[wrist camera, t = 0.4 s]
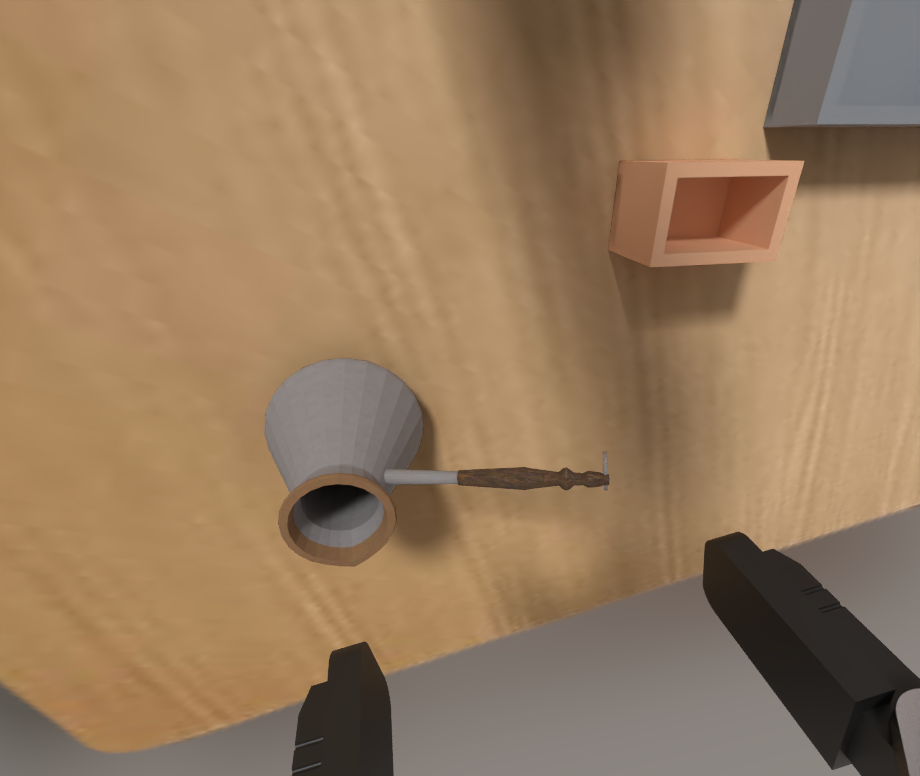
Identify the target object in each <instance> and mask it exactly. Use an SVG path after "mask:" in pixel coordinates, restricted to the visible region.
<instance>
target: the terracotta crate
mask: <svg viewBox="0 0 920 776" xmlns="http://www.w3.org/2000/svg"><path fill="white" fill-rule="evenodd" d="M803 165H804V161H790V160H747V159H720V160H648V161H619V169H618V177H617V185H616V192H615V200H614V208H613V216H612V224H611V231H610V239H609V247H608V250H609V251H612V252H614V253H617V254H619V255H621V256H624V257H626V258H629V259H631V260H633V261H636V262H638V263H641V264H643V265H645V266H648V267H668V266H689V265H709V264H729V263H749V262H770V261H776V259H777V256H778V252H779V249H780V245H781V242H782V238H783V235H784V231H785V228H786V224H787V221H788V217H789V214H790V210H791V207H792V203H793V200H794V196H795V193H796V189H797V186H798V182H799V179H800V175H801V172H802V168H803Z"/></svg>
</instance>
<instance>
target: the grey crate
mask: <svg viewBox="0 0 920 776" xmlns="http://www.w3.org/2000/svg"><path fill="white" fill-rule="evenodd" d="M764 127H920V0H795V1H794V5H793V9H792V13H791V17H790V21H789V25H788V29H787V33H786V38H785V42H784V46H783V50H782V54H781V58H780V62H779V66H778V70H777V74H776V78H775V82H774V87H773V91H772V95H771V99H770V103H769V107H768V111H767V115H766V119H765V123H764Z"/></svg>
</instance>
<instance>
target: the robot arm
mask: <svg viewBox="0 0 920 776" xmlns="http://www.w3.org/2000/svg"><path fill="white" fill-rule="evenodd" d="M703 588H704V591H705V594H706V597H707V599H708V602H709V603H710V605H711V607H712V609H713V610H714V612H715V613H716V614H717V616H718V617H719V618H720V620H721V621H722V623H723V624H724V625H725V627H726V628H727V629H728V631H729V632H730V633H731V635H732V636H733V637H734V639H735V640H736V641H737V643H738V644H739V645H740V647H741V648H742V649H743V651H744V652H745V653H746V655H747V656H748V657H749V659H750V660H751V661H752V663H753V664H754V665H755V667H756V668H757V670H758V671H759V672H760V674H761V675H762V676H763V677H764V679H765V680H766V682H767V683H768V684H769V686H770V687H771V688H772V690H773V691H774V692H775V694H776V695H777V696H778V698H779V699H780V700H781V702H782V703H783V704H784V706H785V707H786V708H787V710H788V711H789V712H790V714H791V715H792V716H793V718H794V719H795V720H796V722H797V723H798V725H799V726H800V727H801V728H802V730H803V731H804V733H805V734H806V735H807V737H808V738H809V739H810V741H811V742H812V743H813V745H814V746H815V747H816V749H817V750H818V751H819V753H820V754H821V755H822V757H823V758H824V760H825V761H826V762H827V763H828V765H829V766H830V768H831V769H832V770H834V769H837V768H840V767H843V766H846V765H849V764H853V766H854V767H855V768H856V769H857V771H858V772H859V773H860V775H861V776H920V678H918V677H917V676H916V675H915V674H914V673H913V672H912V671H911V670H910V669H909V668H907V666H905V665H904V664H903V663H902V662H901V661H900V660H899V659H898V658H897V657H896V656H895V655H894V654H893V653H892V652H891V651H890V650H889V649H888V648H887V647H886V646H885V645H884V644H883V643H882V642H881V641H880V640H879V639H877V638H876V637H875V636H874V635H873V634H872V633H871V632H870V631H869V630H868V629H867V628H866V627H865V626H864V625H863V624H862V623H861V622H860V621H859V620H858V619H857V618H855V616H854V615H853V614H852V613H851V612H850V611H848V610H847V609H846V608H845V607H842V606H841V605H840V602H839V601H838V600H837V599H836V598H835V597H834V596H833V595H832V594H831V593H830V592H829V591H828V590H827V589H824V588H823V587H822V585H821V583H819V582H818V581H817V580H816V579H815V578H814V577H813V576H812V575H811V574H810V573H809V572H808V571H807V570H806V569H805V568H804V567H803V566H802V565H801V564H799V563H798V562H796V561H794V560H792V559H791V558H789V557H787V556H785V555H783V554H782V553H780V552H778V551H776V550H775V549H771V550H767V551H764V552H762V551H761V550H760V549H759V548H758V547H757V546H756V545H755V544H754V542H753V541H752V540H751V539H750V538H749V537H747V536H746V535H745V534H743V533H741V532H735V533H732V534H729V535H725V536H722V537H719V538H715V539H712V540H708V541H707V542H706V543H705V550H704V570H703ZM295 746H296V750H295V751H294V756H293V764H292V772H293V774H292V776H393V751H392V724H391V704H390V696H389V691H388V686H387V683H386V680H385V677H384V675H383V673H382V671H381V669H380V667H379V665H378V663H377V661H376V659H375V657H374V655H373V653H372V651H371V649H370V647H369V645H368V644H367V642H361V643H358V644H354V645H351V646H348V647H344V648H341V649H338V650H334V651H332V653H331V655H330V659H329V668H328V681H327V682H324V683H320V684H317V685H314V686H311V688H310V690H309V693H308V695H307V697H306V699H305V702H304V704H303V706H302V708H301V711H300V713H299V716H298V724H297V732H296V740H295Z"/></svg>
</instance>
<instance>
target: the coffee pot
mask: <svg viewBox="0 0 920 776" xmlns="http://www.w3.org/2000/svg"><path fill="white" fill-rule="evenodd" d="M422 434H423V418H422V411H421V409H420V406H419V404H418V402H417V399H416V397H415V395H414V394H413V392H412V391H411V390H410V389H409V387H408V386H407V385H406V384H405V382H404V381H403V380H402V379H400V378H399V377H397V376H396V375H395V374H393V373H392V372H391V371H389V370H388V369H386V368H384V367H381V366H379V365H376V364H374V363H371V362H369V361H364V360H357V359H349V358H341V359H330V360H323V361H320V362H317V363H314V364H312V365H309V366H306V367H303V368H302V369H300V370H299V371H297V372H296V373H295V374H293V375H292V376H290V377H289V378H287V379H286V380H285V381H284V382H283V384H282V385H281V386H280V387H279V388H278V390H277V391H276V392H275V393H274V394H273V396H272V398H271V401H270V403H269V406H268V408H267V411H266V415H265V436H266V440H267V444H268V448H269V451H270V453H271V455H272V457H273V459H274V461H275V463H276V465H277V467H278V469H279V471H280V473H281V475H282V477H283V479H284V481H285V483H286V486H287V488H288V490H289V492H290V494H289V495H288V497H287V498H286V499H285V500H284V502H283V504H282V506H281V509H280V511H279V520H278V525H279V528H280V532H281V535H282V538H283V539H284V541H285V542H286V544H287V545H288V547H289V548H291V549H292V550H293V551H294V552H295V553H297V554H298V555H299V556H301V557H303V558H306V559H308V560H310V561H313V562H317V563H321V564H326V565H335V566H357V565H359V564H360V563H362V562H364V561H365V560H367V559H368V558H370V557H371V556H372V555H374V554H375V553H376V552H378V551H379V550H380V549H381V548H382V547H383V546H384V545H385V544H386V543H387V542H388V540H389V538H390V537H391V535H392V533H393V531H394V529H395V524H396V519H397V517H396V509H395V506H394V503H393V501H392V499H391V497H390V495H391V493H392V492H393V490H394V488H395V487H396V485H409V484H458V485H463V486H478V487H492V488H506V489H520V490H527V489H533V488H542V487H551V486H557V485H559V486H560V487H561V488H562V489H564V490H569V489H570V488H572V487H573V486H574V485H584V486H586V487H599V486H602V485H604V490H607V485H609V474H607V458H606V452H603V471H604V474H602V473H600V472H593V471H587V472H584V473H582V474H581V473H574V472H572V471H571V470H570V469H568V468H563V469H562V470H561V471H559V472H553V471H546V470H538V469H532V468H526V467H519V468H497V469H475V470H459V471H433V470H407V469H408V467H409V465H410V464H411V462H412V461H413V459H414V457H415V455H416V453H417V451H418V450H419V448H420V443H421V439H422Z"/></svg>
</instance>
